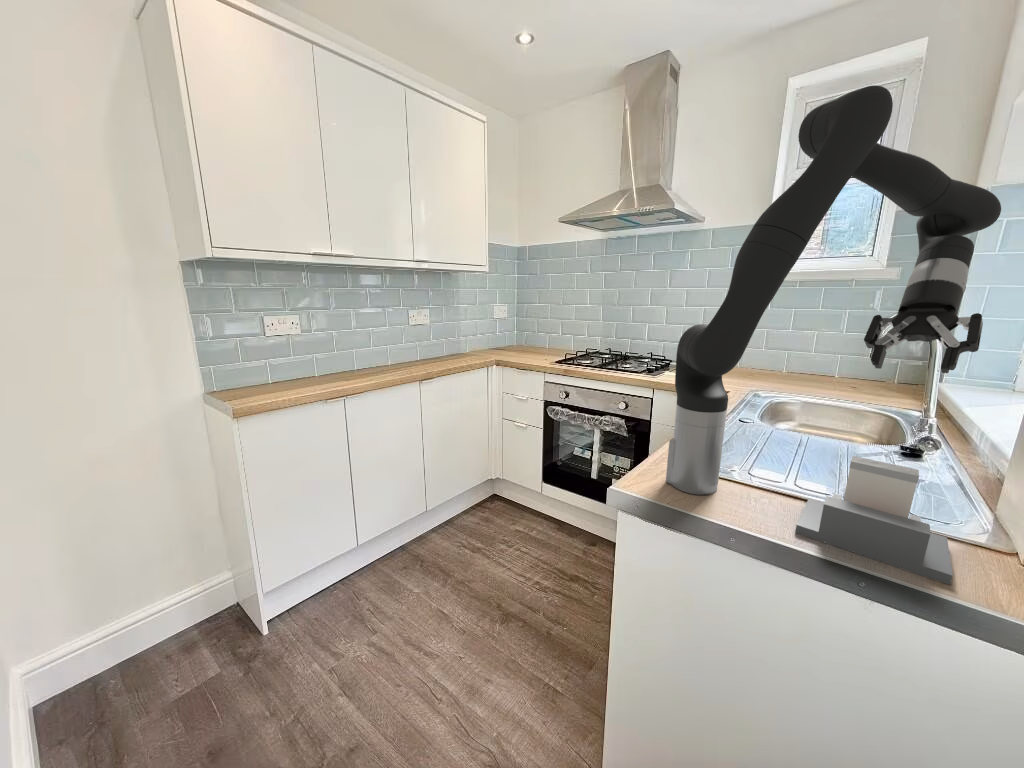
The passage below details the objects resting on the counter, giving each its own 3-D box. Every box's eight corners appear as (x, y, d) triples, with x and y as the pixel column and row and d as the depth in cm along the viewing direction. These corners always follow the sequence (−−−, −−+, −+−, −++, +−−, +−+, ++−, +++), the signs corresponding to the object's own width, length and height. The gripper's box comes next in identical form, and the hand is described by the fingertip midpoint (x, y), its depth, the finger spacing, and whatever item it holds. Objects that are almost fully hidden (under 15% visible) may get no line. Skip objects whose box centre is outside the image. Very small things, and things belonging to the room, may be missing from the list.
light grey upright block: (839, 515, 70) (850, 461, 67) (841, 508, 72) (852, 455, 70) (904, 534, 64) (919, 476, 62) (904, 526, 66) (918, 469, 64)
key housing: (795, 532, 68) (801, 497, 67) (807, 505, 77) (813, 473, 75) (950, 585, 56) (962, 543, 55) (944, 545, 65) (955, 508, 63)
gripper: (877, 281, 77) (852, 355, 74) (992, 273, 65) (968, 360, 62) (885, 304, 81) (862, 375, 78) (995, 300, 69) (972, 383, 66)
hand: (909, 368), depth 70 cm, fingers open, 8 cm apart
